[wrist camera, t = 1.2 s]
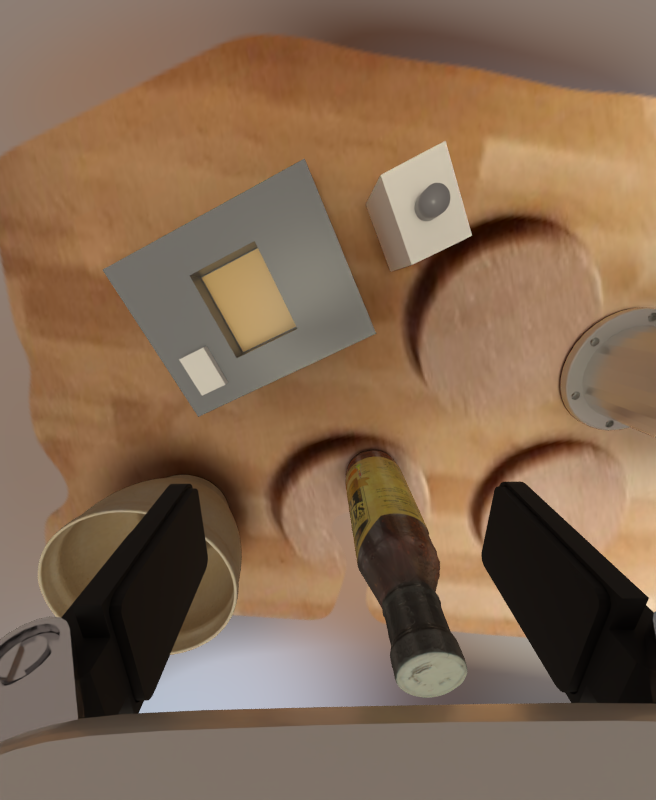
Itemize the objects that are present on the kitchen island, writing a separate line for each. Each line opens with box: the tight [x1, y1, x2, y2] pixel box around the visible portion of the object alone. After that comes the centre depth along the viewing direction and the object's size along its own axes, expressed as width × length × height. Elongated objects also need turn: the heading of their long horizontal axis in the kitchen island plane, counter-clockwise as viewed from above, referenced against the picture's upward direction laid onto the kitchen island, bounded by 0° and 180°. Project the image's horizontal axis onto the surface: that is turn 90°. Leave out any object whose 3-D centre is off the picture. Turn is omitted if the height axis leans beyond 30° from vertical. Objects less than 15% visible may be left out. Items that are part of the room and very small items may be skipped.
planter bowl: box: [38, 475, 241, 655], centre depth 31 cm, size 16×16×11 cm
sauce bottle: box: [346, 450, 467, 698], centre depth 26 cm, size 6×6×20 cm
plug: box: [366, 141, 472, 272], centre depth 24 cm, size 4×6×9 cm
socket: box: [103, 159, 376, 417], centre depth 27 cm, size 18×14×4 cm
